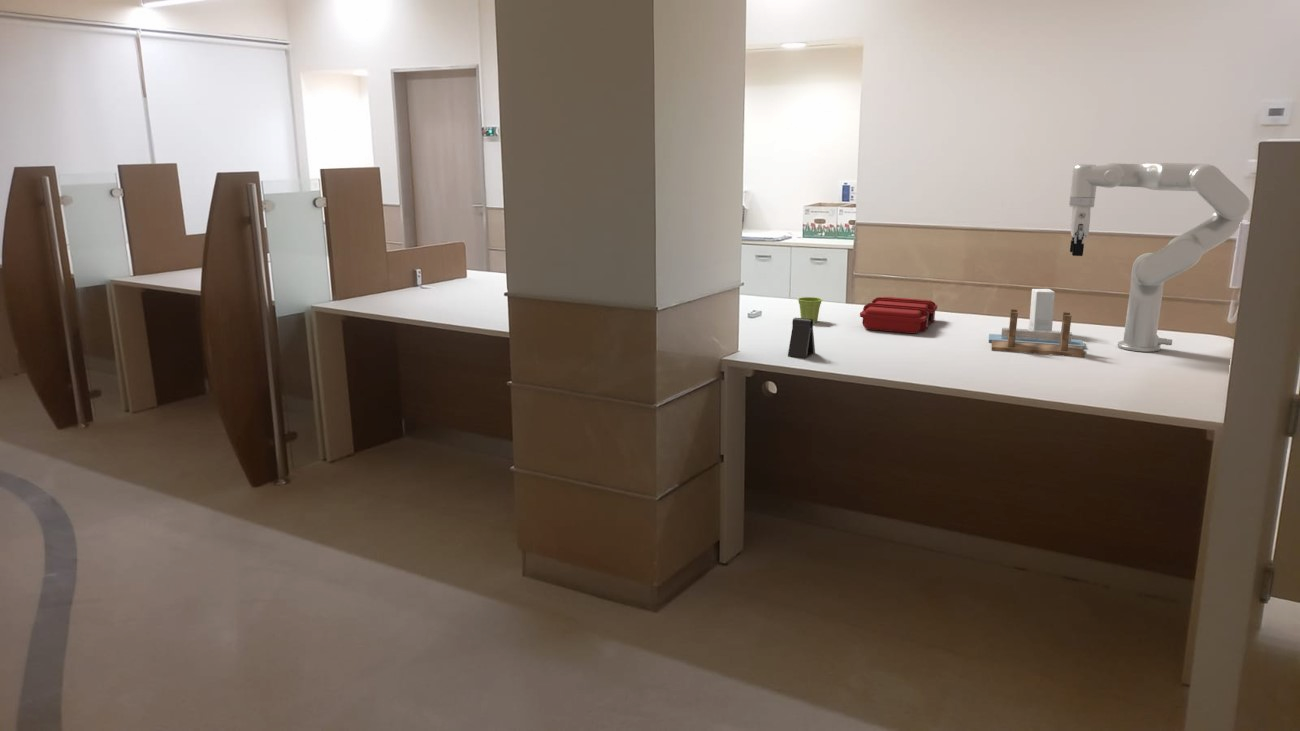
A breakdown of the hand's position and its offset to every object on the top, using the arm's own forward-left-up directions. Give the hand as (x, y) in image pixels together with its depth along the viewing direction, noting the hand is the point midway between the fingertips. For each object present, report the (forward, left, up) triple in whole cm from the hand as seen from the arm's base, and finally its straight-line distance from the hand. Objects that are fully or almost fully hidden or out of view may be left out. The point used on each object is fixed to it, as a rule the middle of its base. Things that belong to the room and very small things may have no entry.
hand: (1076, 254), depth 302 cm
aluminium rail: (+10, +5, -29) cm, 31 cm away
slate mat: (+10, +5, -30) cm, 32 cm away
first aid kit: (+57, -11, -31) cm, 66 cm away
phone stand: (+82, +49, -31) cm, 100 cm away
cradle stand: (+10, +17, -30) cm, 36 cm away
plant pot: (+90, -6, -31) cm, 95 cm away
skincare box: (+8, -13, -31) cm, 34 cm away
